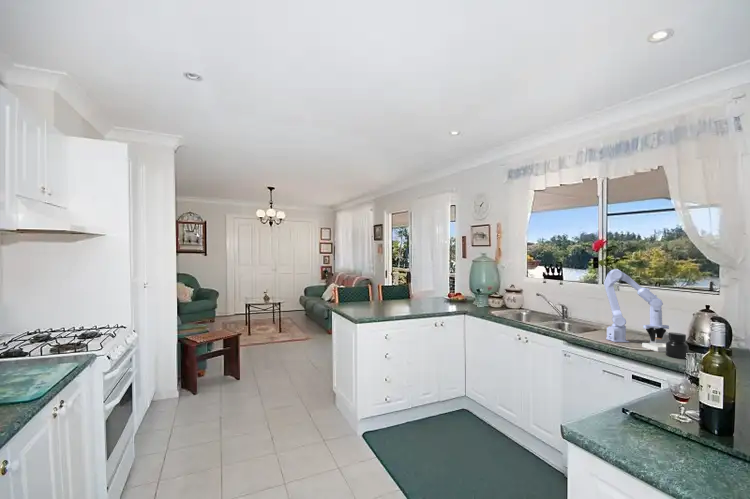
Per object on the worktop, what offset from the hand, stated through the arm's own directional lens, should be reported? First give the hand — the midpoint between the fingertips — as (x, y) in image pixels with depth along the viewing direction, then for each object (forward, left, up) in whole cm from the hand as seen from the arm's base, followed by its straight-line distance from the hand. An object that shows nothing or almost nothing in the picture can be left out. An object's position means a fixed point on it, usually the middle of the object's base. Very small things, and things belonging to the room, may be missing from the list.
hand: (656, 341), depth 205 cm
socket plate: (-5, -10, -3) cm, 11 cm away
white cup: (+9, +7, +3) cm, 12 cm away
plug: (0, 0, -3) cm, 3 cm away
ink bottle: (-12, -25, -3) cm, 28 cm away
